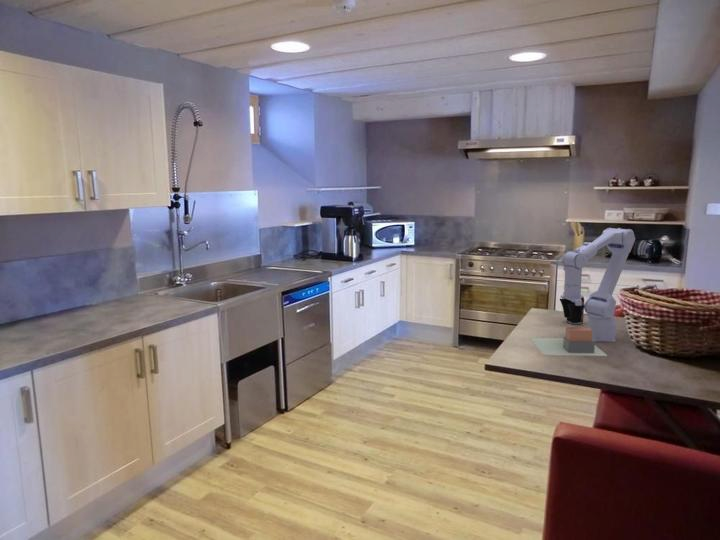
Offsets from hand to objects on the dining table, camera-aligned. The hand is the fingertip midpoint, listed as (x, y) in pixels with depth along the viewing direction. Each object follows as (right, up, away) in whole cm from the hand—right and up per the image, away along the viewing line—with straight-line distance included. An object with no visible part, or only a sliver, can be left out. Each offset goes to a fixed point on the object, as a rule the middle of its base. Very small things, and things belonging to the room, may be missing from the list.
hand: (570, 320), depth 190 cm
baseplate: (-2, -10, -1) cm, 10 cm away
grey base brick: (+1, -10, -5) cm, 12 cm away
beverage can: (+15, -5, +32) cm, 36 cm away
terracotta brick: (0, -6, -6) cm, 9 cm away
